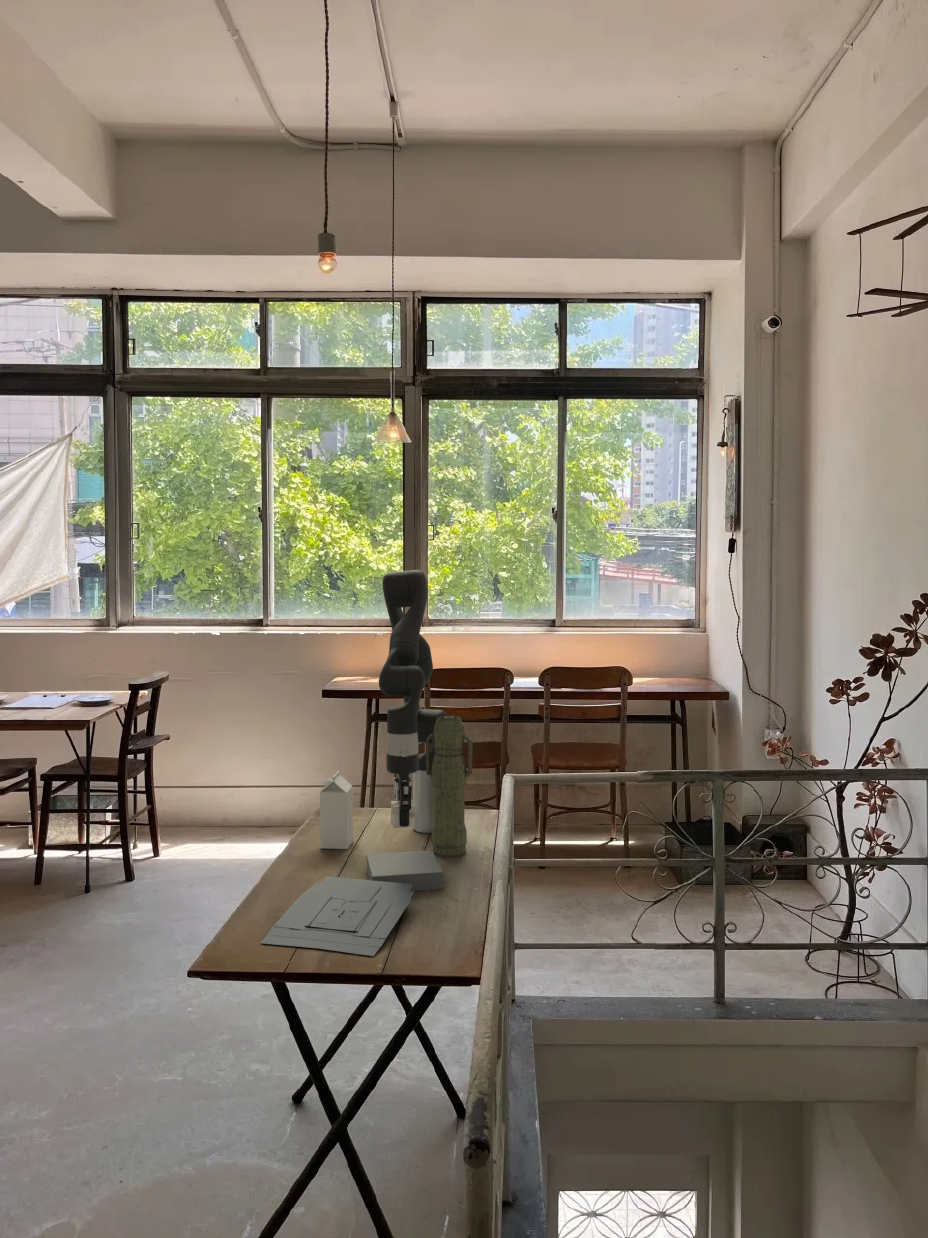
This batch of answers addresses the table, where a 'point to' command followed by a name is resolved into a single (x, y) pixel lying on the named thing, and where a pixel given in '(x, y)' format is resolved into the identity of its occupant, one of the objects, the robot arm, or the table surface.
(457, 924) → the table surface
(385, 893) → the papers
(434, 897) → the table surface
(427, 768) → the thermos
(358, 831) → the table surface
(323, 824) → the milk carton
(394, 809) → the cream cube
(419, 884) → the charcoal plinth
